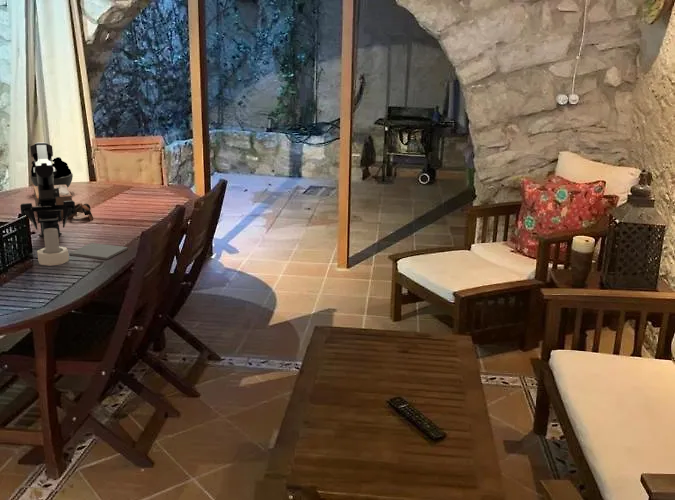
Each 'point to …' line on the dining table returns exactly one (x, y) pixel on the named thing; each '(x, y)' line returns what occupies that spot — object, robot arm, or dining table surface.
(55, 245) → the beverage can
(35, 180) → the coal bowl
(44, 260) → the holder ring
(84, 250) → the rubber mat
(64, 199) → the tissue box cover
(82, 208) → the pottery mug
